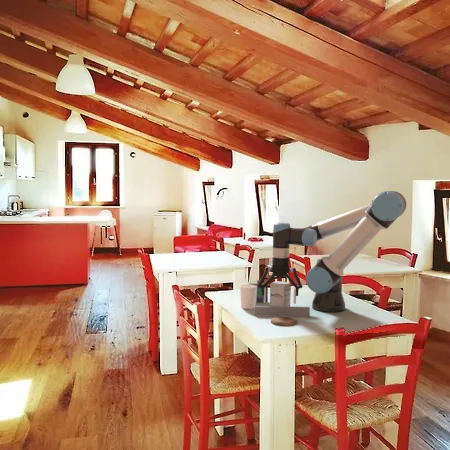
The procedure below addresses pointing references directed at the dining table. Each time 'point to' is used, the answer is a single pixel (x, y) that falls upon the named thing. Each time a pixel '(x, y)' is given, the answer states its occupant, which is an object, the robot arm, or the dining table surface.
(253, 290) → the white cup
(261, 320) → the dining table surface
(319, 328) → the dining table surface
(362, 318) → the dining table surface
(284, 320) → the coaster
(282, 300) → the supplement box
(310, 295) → the dining table surface
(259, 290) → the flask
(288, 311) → the low wall
